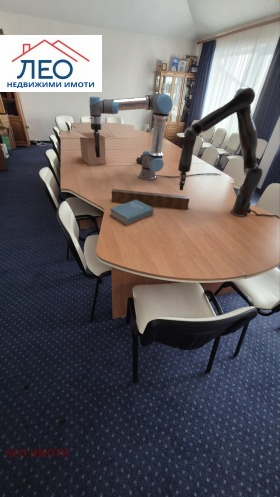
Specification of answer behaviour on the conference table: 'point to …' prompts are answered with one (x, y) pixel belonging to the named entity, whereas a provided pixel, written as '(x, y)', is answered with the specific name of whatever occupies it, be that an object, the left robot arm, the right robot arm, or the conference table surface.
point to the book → (131, 211)
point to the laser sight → (139, 159)
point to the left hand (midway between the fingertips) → (97, 154)
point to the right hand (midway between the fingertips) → (180, 187)
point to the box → (92, 146)
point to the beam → (151, 198)
